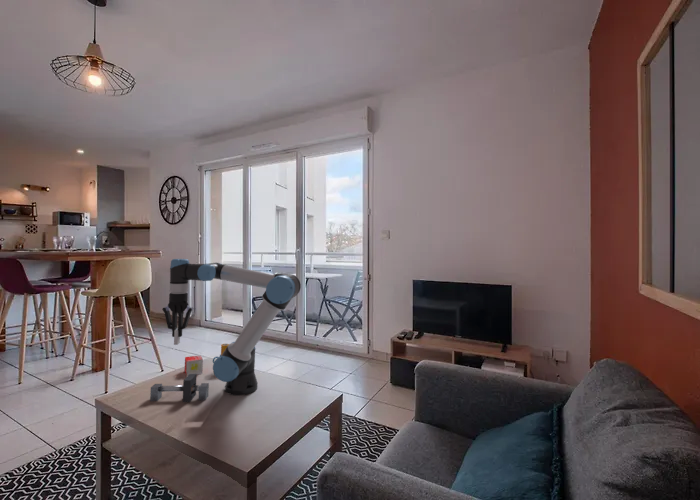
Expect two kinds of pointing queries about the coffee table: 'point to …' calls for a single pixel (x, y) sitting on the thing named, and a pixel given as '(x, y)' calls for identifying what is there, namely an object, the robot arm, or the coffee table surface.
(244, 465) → the coffee table surface
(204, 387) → the rail
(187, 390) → the dark gray notched block
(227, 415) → the coffee table surface
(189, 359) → the red gray cube
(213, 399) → the coffee table surface
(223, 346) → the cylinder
